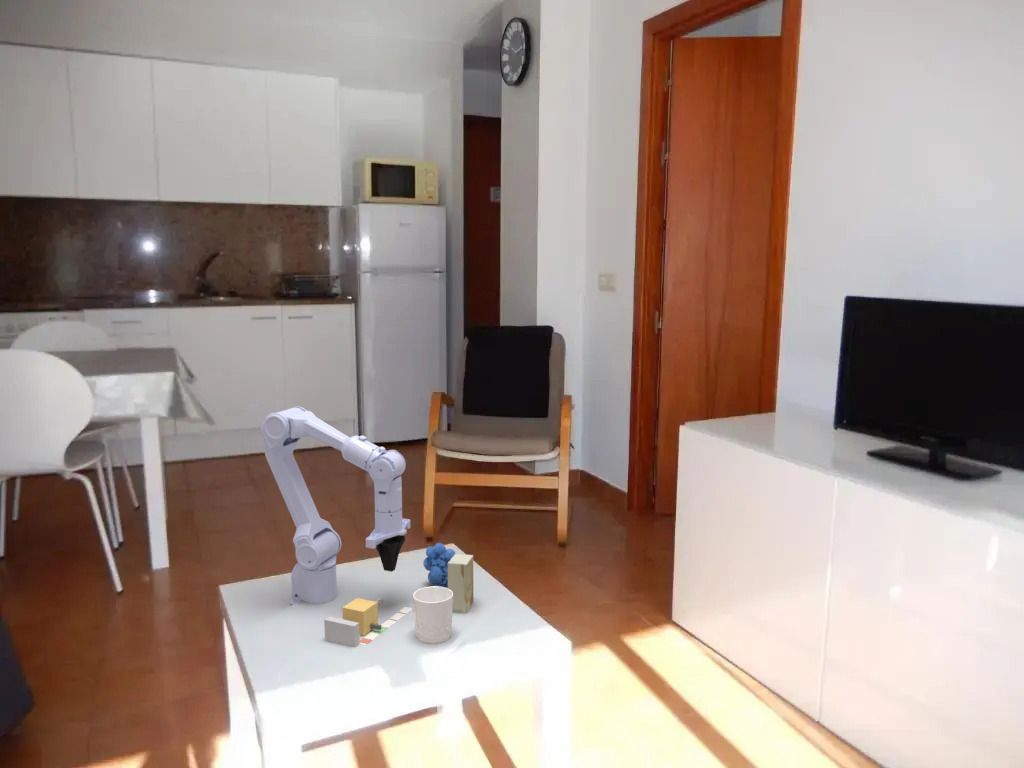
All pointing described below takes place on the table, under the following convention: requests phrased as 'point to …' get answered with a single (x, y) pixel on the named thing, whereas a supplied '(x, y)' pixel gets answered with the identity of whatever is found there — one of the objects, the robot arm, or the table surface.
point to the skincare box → (461, 582)
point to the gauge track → (356, 629)
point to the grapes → (438, 564)
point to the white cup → (433, 614)
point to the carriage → (362, 614)
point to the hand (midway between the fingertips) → (389, 569)
